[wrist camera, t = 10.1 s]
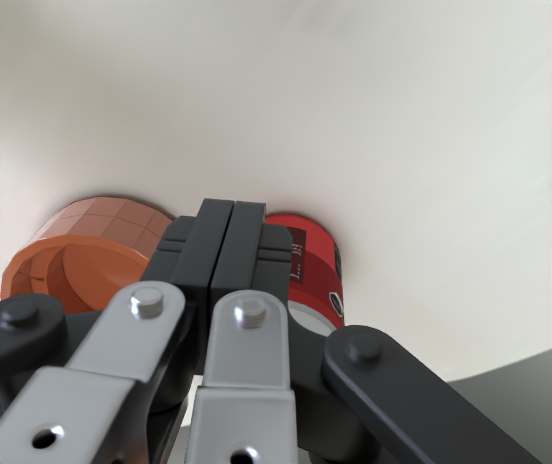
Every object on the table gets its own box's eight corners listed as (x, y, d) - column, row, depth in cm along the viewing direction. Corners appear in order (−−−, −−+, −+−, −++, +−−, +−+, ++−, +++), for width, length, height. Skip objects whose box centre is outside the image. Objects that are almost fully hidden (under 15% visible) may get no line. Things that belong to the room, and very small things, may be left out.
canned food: (306, 312, 41) (301, 425, 31) (219, 266, 39) (186, 370, 30) (362, 244, 37) (375, 349, 28) (269, 191, 36) (249, 282, 26)
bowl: (57, 325, 44) (21, 377, 39) (27, 186, 37) (-21, 225, 32) (209, 341, 43) (194, 395, 38) (208, 201, 37) (188, 245, 31)
